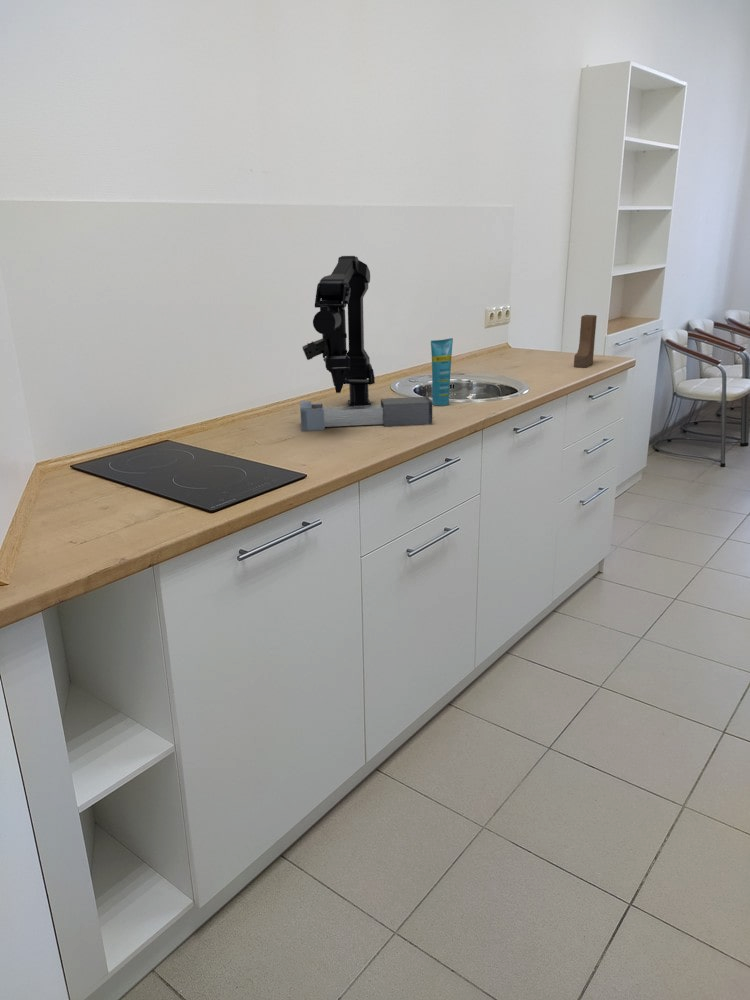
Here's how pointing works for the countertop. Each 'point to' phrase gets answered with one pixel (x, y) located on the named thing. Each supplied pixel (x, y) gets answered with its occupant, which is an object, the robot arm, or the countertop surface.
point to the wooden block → (586, 342)
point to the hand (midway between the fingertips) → (337, 389)
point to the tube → (441, 370)
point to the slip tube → (353, 415)
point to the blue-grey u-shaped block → (311, 416)
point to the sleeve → (407, 411)
